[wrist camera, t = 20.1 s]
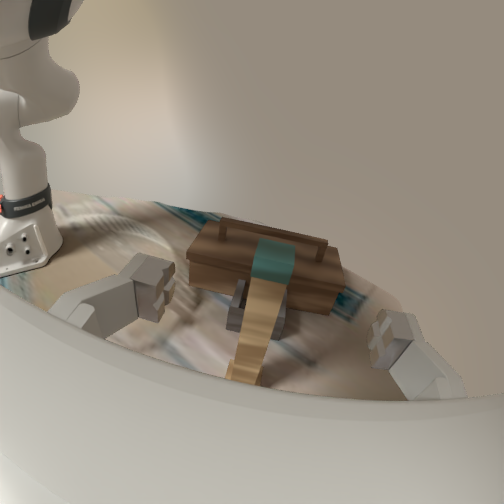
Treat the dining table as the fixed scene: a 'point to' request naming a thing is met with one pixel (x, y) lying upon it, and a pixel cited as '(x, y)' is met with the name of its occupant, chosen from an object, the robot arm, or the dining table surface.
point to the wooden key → (261, 308)
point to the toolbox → (241, 260)
